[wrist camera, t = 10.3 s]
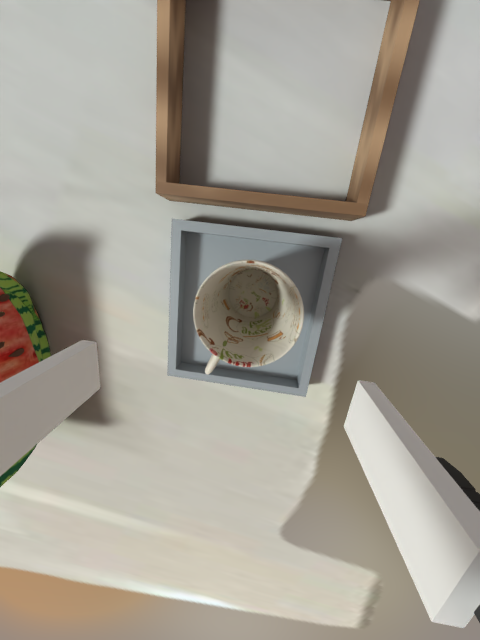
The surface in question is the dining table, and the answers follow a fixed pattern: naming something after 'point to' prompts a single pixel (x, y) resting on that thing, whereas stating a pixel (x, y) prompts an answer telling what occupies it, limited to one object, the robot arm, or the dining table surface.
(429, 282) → the dining table surface
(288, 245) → the tray
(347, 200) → the corral
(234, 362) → the mug
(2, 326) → the fruit slice
